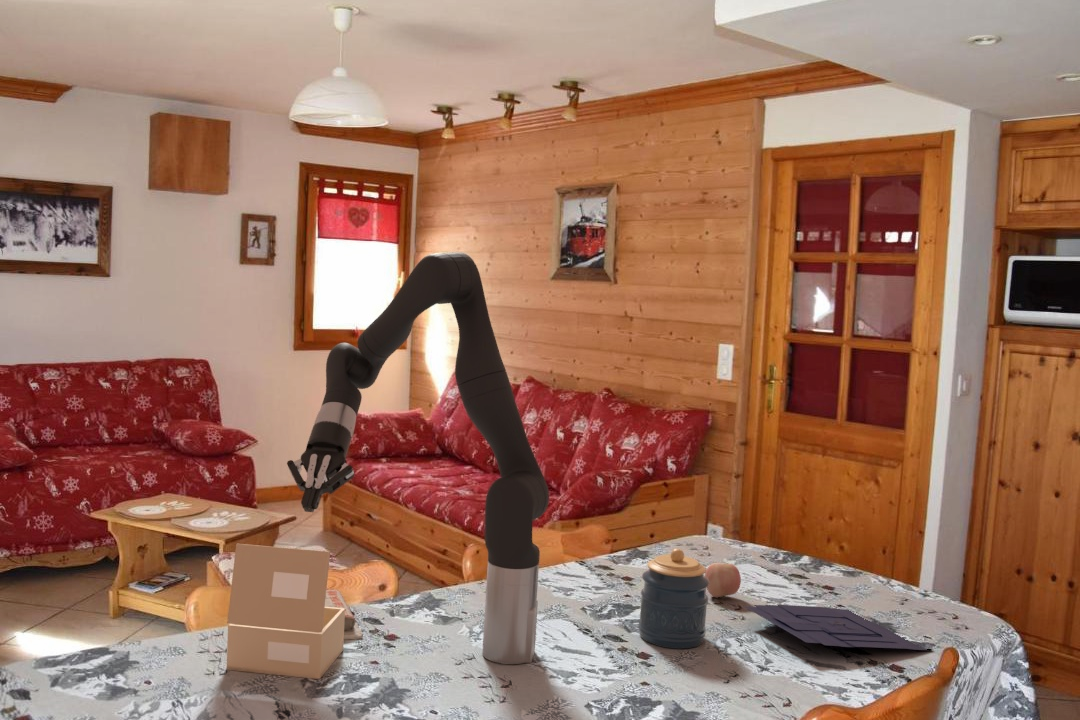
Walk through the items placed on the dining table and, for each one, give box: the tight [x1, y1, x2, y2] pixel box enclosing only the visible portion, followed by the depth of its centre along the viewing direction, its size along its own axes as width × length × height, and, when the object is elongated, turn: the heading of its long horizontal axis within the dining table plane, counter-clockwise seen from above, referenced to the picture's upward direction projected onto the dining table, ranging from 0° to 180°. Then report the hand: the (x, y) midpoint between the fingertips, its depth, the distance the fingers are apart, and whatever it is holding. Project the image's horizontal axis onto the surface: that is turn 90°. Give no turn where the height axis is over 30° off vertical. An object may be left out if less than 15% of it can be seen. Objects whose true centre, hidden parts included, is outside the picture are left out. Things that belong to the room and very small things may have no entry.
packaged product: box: [325, 588, 364, 641], centre depth 187 cm, size 18×5×10 cm
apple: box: [704, 562, 742, 599], centre depth 217 cm, size 8×8×8 cm
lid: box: [226, 543, 331, 632], centre depth 162 cm, size 16×13×1 cm
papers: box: [743, 604, 928, 651], centre depth 197 cm, size 24×30×4 cm
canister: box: [638, 548, 709, 650], centre depth 190 cm, size 13×13×18 cm
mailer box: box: [225, 607, 345, 680], centre depth 168 cm, size 16×13×8 cm
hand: (308, 509), depth 175 cm, fingers closed
